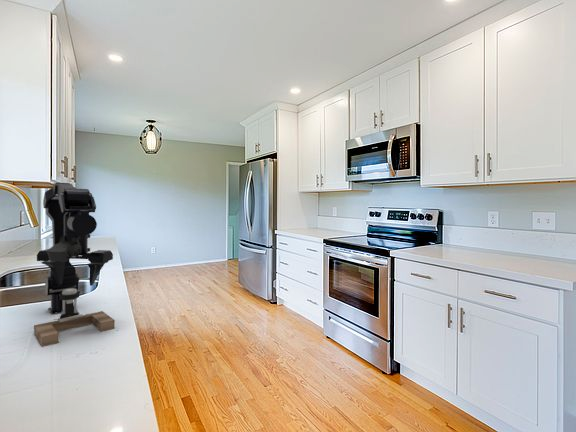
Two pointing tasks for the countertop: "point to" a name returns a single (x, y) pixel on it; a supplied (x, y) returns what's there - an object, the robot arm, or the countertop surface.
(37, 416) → the countertop surface
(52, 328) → the notched board
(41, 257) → the robot arm
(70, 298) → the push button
